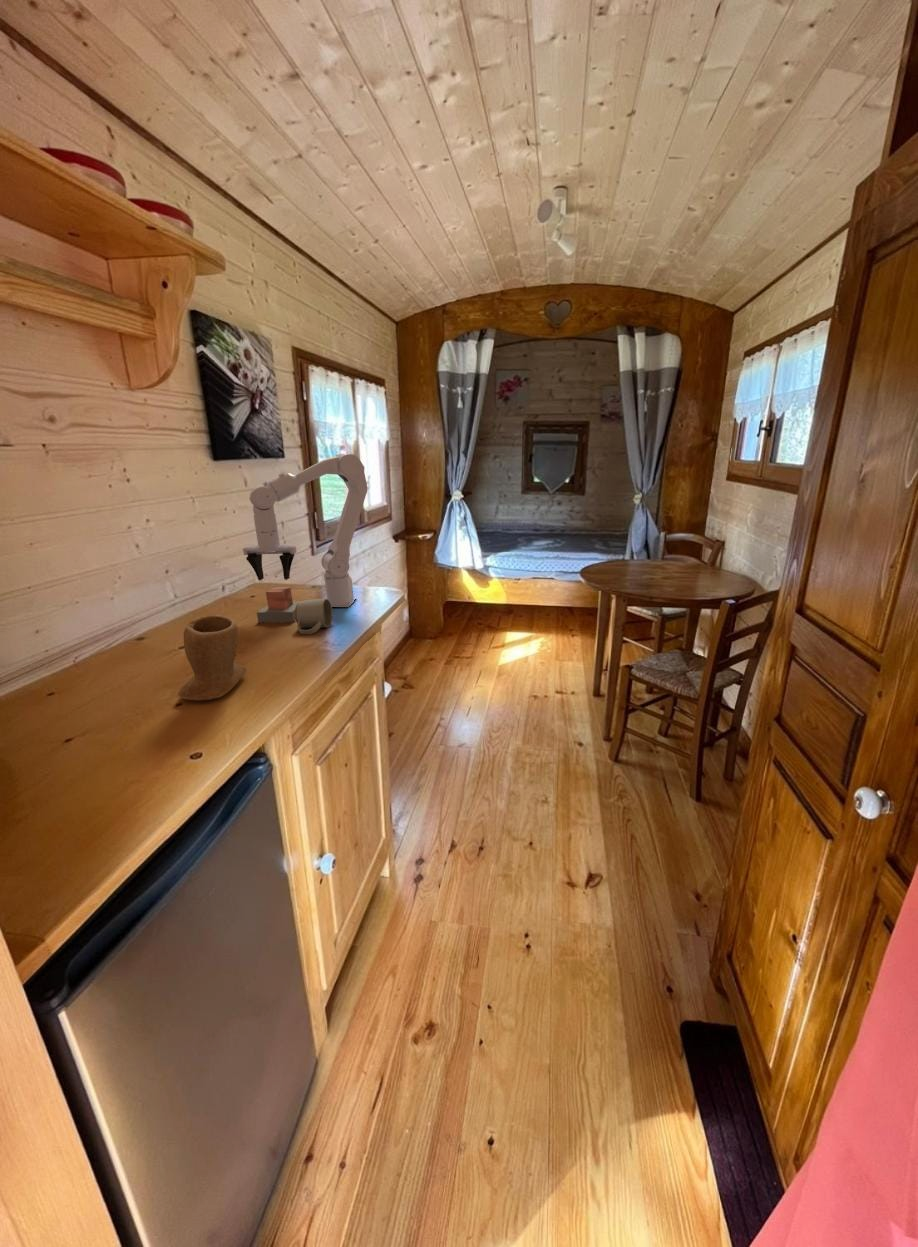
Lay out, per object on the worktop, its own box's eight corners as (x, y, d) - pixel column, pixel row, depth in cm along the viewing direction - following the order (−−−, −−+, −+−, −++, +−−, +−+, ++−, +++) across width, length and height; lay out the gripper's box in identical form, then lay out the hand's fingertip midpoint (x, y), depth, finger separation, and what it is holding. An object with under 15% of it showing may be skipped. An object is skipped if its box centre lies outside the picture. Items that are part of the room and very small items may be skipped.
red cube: (276, 604, 157) (273, 587, 155) (292, 604, 156) (290, 587, 154) (268, 609, 152) (265, 591, 150) (285, 609, 151) (282, 591, 150)
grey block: (273, 613, 160) (271, 602, 159) (306, 613, 159) (304, 601, 158) (258, 624, 150) (256, 612, 149) (293, 624, 150) (291, 612, 148)
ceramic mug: (305, 622, 149) (301, 595, 147) (334, 622, 149) (331, 595, 146) (290, 636, 139) (286, 607, 137) (322, 635, 139) (318, 607, 136)
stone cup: (232, 705, 102) (218, 629, 98) (170, 705, 103) (154, 631, 98) (263, 672, 117) (252, 605, 112) (209, 673, 117) (195, 607, 112)
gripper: (235, 534, 147) (243, 583, 151) (287, 533, 146) (293, 582, 150) (246, 530, 154) (254, 577, 158) (296, 529, 153) (302, 576, 157)
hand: (274, 579), depth 155 cm, fingers open, 7 cm apart
